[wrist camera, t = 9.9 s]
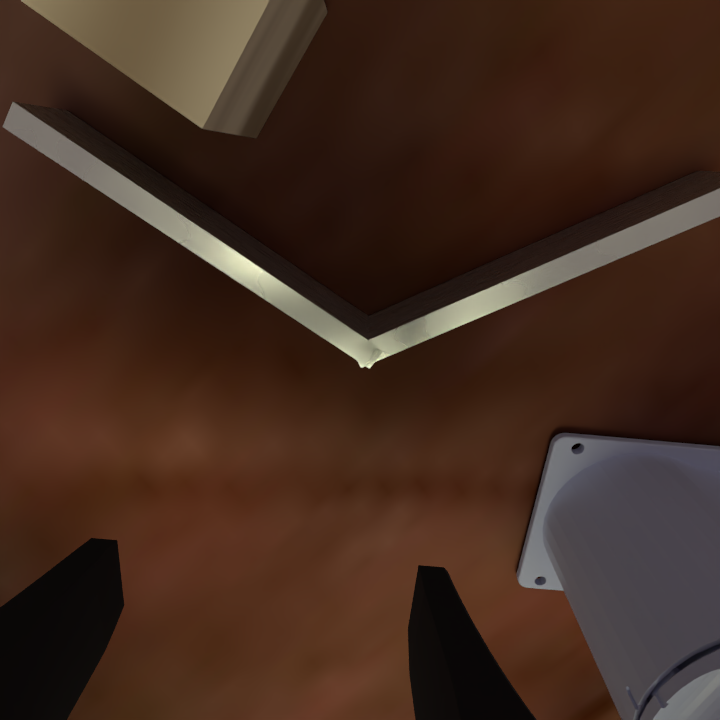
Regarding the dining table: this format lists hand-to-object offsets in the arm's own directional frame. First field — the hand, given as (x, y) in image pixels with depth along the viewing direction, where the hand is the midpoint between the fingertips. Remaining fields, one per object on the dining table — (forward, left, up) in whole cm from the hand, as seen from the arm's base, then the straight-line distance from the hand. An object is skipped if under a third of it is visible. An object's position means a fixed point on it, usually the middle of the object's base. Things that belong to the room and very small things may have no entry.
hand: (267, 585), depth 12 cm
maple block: (+3, -13, -10) cm, 16 cm away
